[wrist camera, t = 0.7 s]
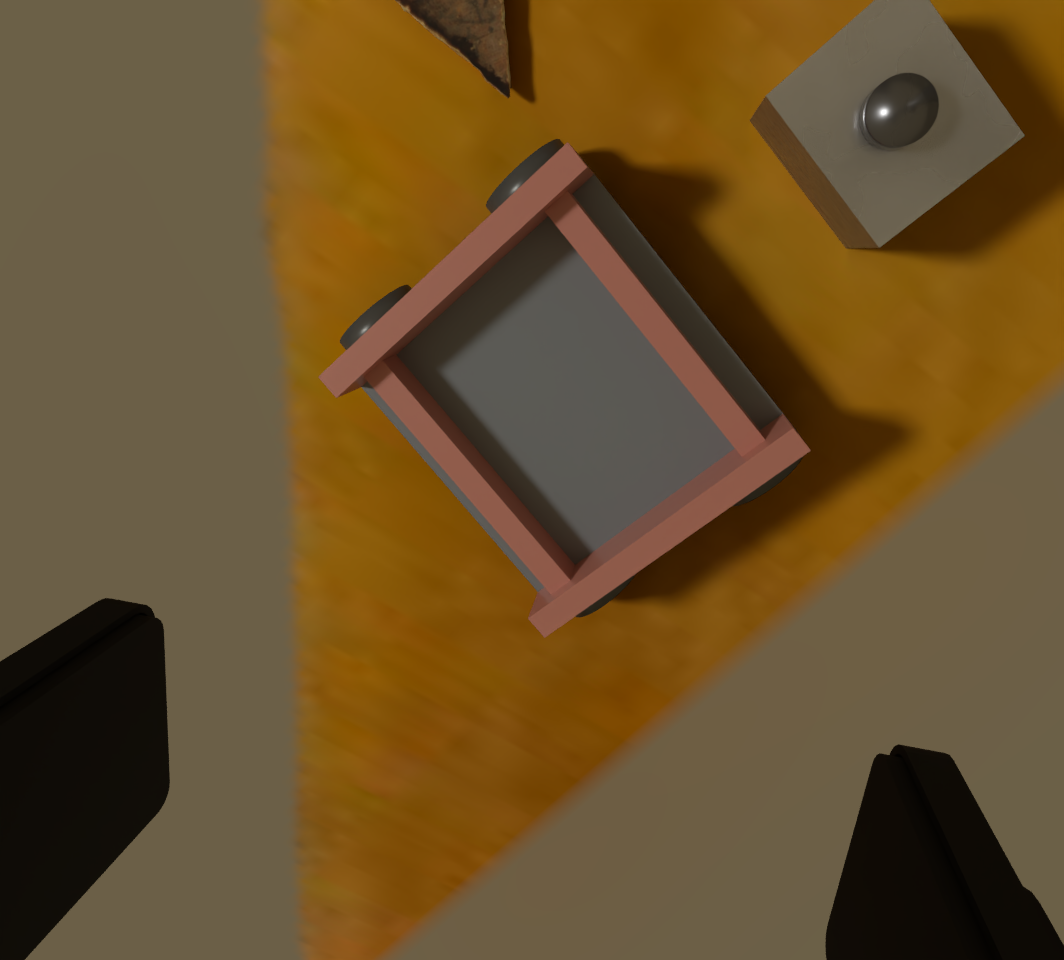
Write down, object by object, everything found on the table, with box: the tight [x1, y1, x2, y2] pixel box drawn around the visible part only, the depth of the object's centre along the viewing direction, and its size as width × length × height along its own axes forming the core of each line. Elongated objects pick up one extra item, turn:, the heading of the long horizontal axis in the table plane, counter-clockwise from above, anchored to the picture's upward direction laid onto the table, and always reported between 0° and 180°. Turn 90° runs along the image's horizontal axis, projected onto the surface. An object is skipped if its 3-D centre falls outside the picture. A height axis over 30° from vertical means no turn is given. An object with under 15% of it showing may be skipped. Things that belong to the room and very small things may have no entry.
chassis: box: [319, 139, 811, 637], centre depth 30 cm, size 12×15×6 cm
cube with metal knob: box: [750, 0, 1025, 248], centre depth 26 cm, size 5×6×6 cm
